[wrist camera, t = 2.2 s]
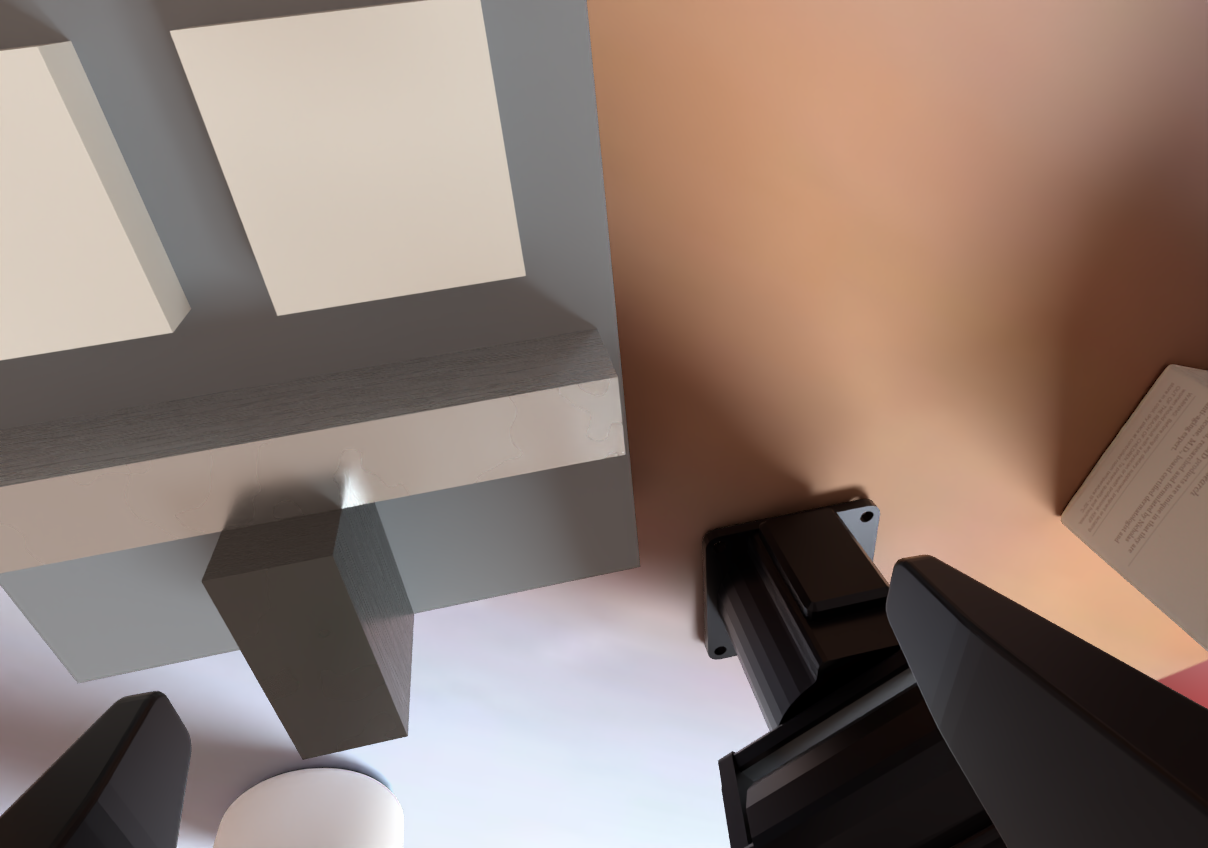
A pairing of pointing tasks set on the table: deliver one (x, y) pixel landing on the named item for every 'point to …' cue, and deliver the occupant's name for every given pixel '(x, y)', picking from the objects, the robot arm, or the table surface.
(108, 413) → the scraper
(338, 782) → the water bottle
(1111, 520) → the supplement box
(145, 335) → the tile
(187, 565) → the board
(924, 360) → the table surface
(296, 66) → the tile
